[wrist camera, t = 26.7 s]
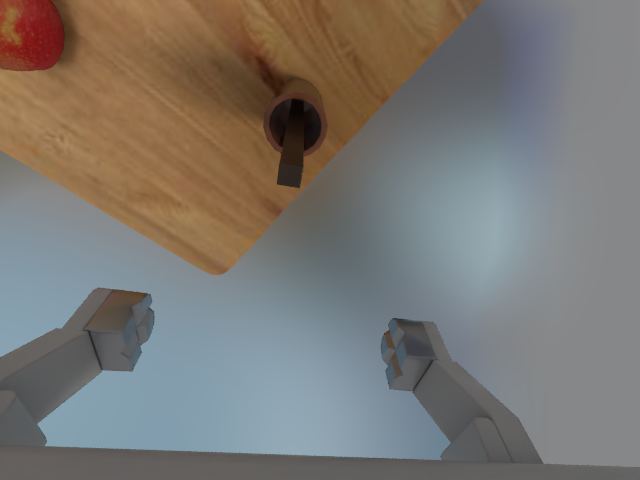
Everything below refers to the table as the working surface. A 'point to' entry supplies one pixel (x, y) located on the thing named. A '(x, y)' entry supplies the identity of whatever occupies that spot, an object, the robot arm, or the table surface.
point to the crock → (280, 111)
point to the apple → (30, 35)
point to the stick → (293, 147)
